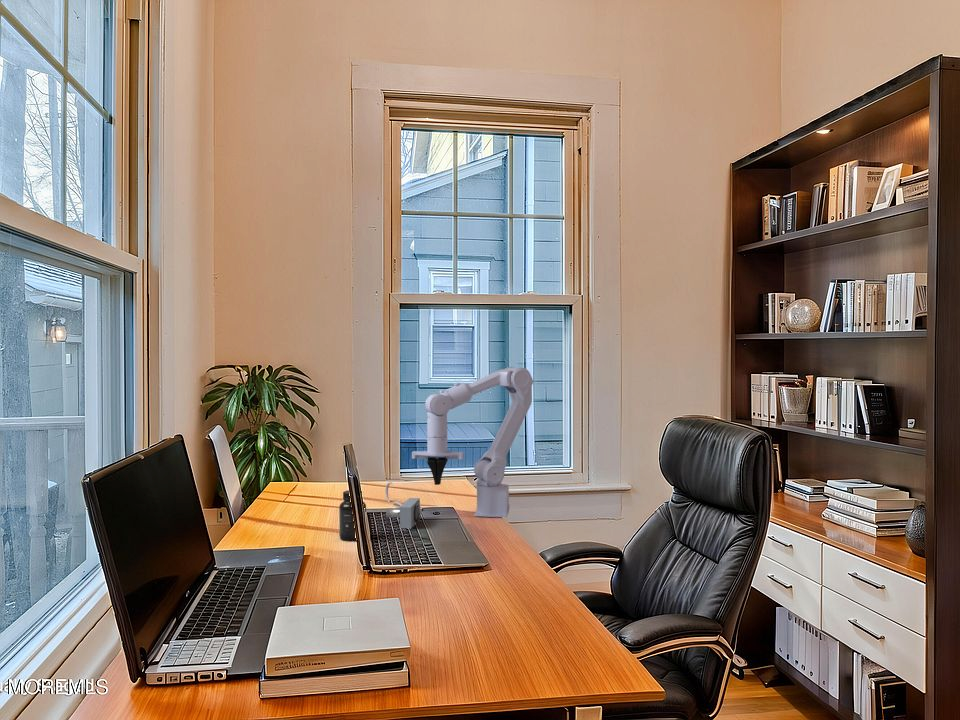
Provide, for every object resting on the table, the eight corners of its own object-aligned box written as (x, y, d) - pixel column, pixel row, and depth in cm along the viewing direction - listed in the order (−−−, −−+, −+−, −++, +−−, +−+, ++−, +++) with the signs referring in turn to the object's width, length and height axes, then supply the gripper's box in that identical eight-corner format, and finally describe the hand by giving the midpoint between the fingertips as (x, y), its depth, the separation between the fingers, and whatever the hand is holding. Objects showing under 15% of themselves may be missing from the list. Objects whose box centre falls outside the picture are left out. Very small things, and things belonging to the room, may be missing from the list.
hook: (399, 499, 236) (425, 521, 219) (371, 502, 231) (396, 525, 214) (400, 477, 235) (427, 497, 218) (372, 480, 230) (398, 501, 213)
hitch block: (419, 519, 208) (419, 498, 208) (410, 529, 196) (410, 507, 196) (409, 518, 209) (409, 497, 209) (399, 529, 197) (399, 507, 197)
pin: (420, 519, 205) (420, 503, 204) (417, 523, 200) (417, 507, 200) (389, 519, 206) (389, 502, 206) (385, 522, 201) (385, 506, 201)
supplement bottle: (333, 539, 187) (333, 492, 186) (350, 533, 193) (350, 488, 193) (355, 542, 184) (355, 495, 183) (371, 536, 190) (371, 490, 189)
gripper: (464, 435, 211) (464, 481, 212) (415, 434, 213) (415, 481, 213) (461, 438, 204) (461, 486, 205) (410, 437, 206) (410, 485, 206)
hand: (437, 484), depth 209 cm, fingers closed
